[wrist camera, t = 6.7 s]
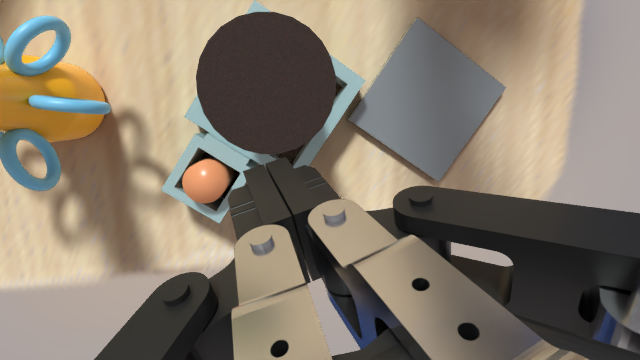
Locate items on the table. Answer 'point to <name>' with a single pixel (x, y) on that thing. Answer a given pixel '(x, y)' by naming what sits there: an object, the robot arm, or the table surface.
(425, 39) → the coaster
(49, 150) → the multicoloured piece
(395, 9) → the table surface
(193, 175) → the brown egg
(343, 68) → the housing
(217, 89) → the deodorant
